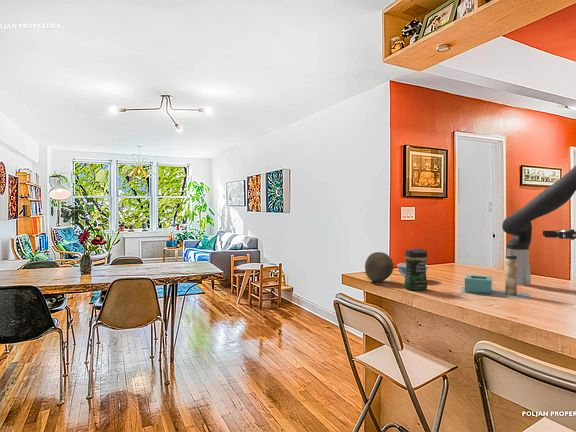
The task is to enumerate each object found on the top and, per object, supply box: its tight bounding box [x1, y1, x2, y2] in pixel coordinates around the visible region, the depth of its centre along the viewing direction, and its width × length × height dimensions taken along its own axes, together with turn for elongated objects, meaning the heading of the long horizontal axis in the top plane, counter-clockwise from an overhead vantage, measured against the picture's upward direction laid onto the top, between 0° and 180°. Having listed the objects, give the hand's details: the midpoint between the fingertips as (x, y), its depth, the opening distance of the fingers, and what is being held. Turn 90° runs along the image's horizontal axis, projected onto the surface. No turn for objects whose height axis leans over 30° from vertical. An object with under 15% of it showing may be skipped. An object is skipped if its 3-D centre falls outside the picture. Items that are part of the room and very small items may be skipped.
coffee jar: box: [404, 248, 428, 291], centre depth 170 cm, size 10×8×19 cm
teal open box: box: [464, 274, 493, 296], centre depth 161 cm, size 10×10×6 cm
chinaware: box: [396, 262, 429, 278], centre depth 193 cm, size 15×15×8 cm
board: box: [460, 286, 531, 301], centre depth 158 cm, size 25×13×1 cm, turn 59°
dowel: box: [504, 254, 518, 296], centre depth 154 cm, size 4×4×16 cm
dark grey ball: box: [364, 251, 394, 283], centre depth 188 cm, size 14×14×15 cm
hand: (543, 233), depth 148 cm, fingers open, 8 cm apart
